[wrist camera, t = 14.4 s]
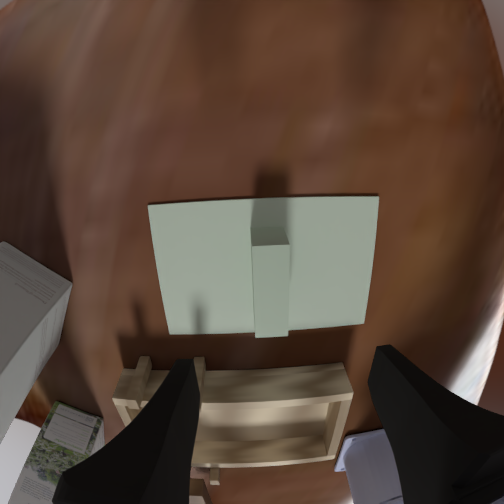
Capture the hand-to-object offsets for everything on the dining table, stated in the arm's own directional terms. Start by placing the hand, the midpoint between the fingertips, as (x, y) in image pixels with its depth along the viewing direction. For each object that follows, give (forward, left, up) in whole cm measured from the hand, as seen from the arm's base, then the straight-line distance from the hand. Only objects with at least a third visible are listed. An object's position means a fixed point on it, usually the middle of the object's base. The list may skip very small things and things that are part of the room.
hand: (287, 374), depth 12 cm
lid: (0, 0, -11) cm, 11 cm away
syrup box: (+20, +18, -10) cm, 29 cm away
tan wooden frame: (+3, +14, -10) cm, 17 cm away
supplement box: (+19, +2, -10) cm, 22 cm away
